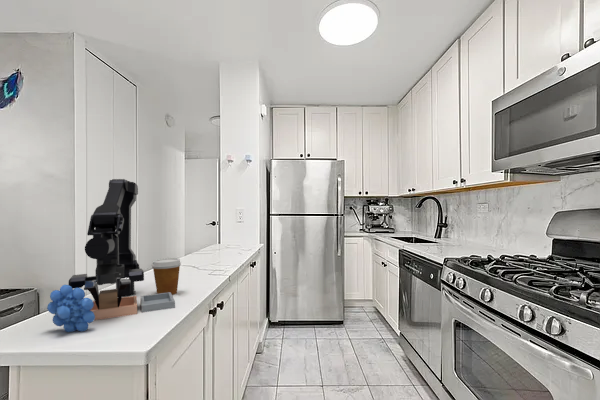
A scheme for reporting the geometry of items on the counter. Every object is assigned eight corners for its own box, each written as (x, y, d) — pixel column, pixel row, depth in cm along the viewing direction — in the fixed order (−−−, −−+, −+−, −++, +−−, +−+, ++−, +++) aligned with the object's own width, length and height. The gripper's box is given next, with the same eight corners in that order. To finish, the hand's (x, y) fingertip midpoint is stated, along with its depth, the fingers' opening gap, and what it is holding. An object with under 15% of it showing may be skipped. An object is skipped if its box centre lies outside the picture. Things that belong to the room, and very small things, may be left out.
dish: (81, 312, 104) (81, 302, 104) (136, 305, 110) (136, 295, 110) (76, 324, 93) (76, 313, 93) (137, 315, 100) (137, 305, 100)
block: (100, 311, 103) (100, 290, 103) (118, 308, 105) (117, 288, 105) (99, 315, 99) (98, 294, 99) (117, 313, 101) (117, 292, 101)
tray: (140, 303, 112) (140, 295, 112) (170, 299, 116) (170, 292, 116) (141, 314, 101) (141, 305, 101) (175, 309, 105) (174, 301, 105)
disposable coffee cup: (172, 299, 116) (171, 262, 116) (146, 298, 118) (145, 262, 118) (187, 291, 125) (186, 258, 125) (162, 291, 127) (162, 257, 127)
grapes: (35, 340, 83) (34, 289, 83) (55, 329, 90) (54, 282, 90) (83, 339, 83) (82, 288, 83) (100, 329, 90) (99, 281, 90)
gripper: (64, 260, 90) (65, 321, 90) (144, 254, 98) (145, 310, 98) (71, 255, 100) (72, 310, 100) (142, 250, 108) (143, 300, 108)
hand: (108, 308), depth 102 cm, fingers closed on block, 4 cm apart
